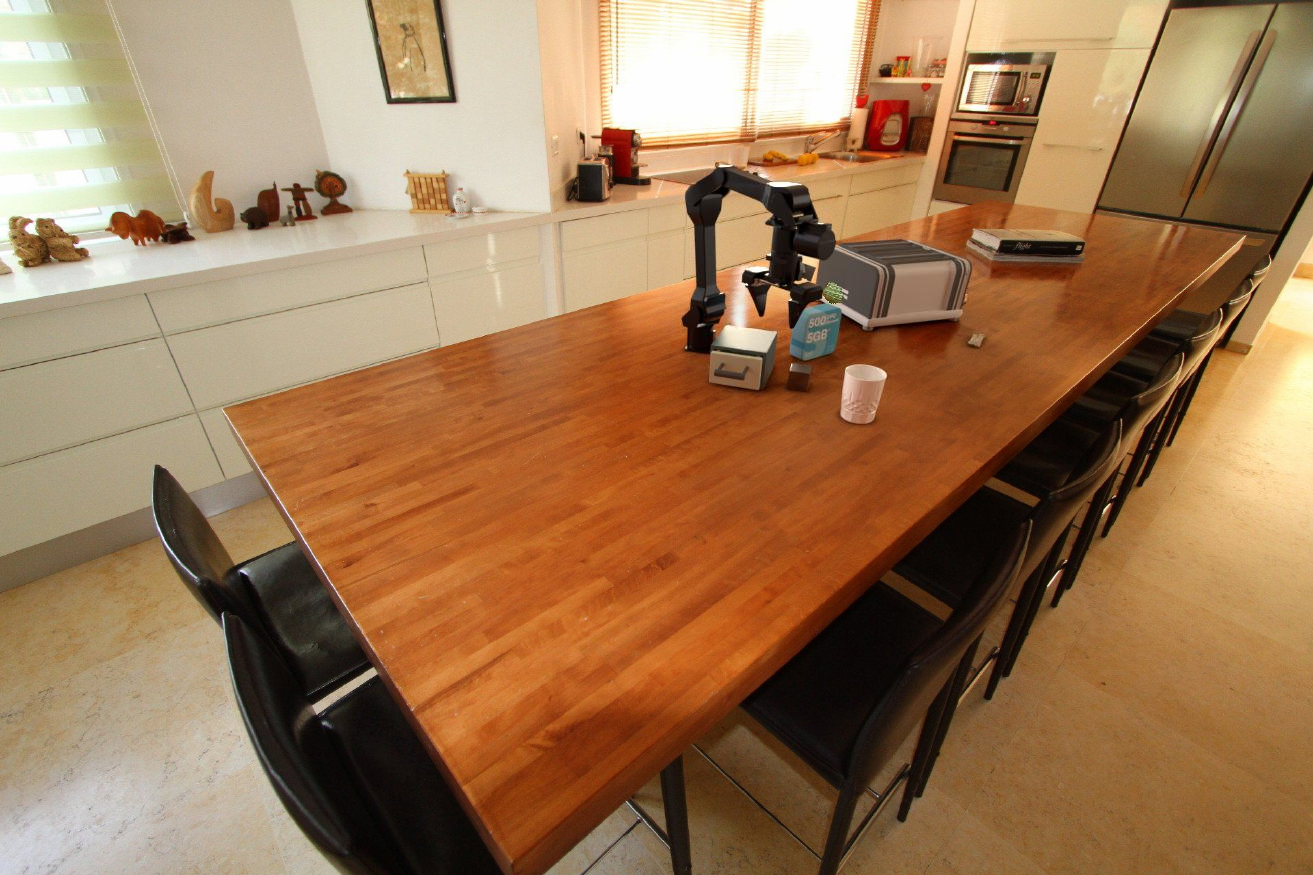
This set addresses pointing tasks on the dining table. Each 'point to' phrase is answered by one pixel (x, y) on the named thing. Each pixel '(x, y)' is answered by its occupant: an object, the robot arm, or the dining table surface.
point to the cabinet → (749, 345)
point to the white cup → (861, 393)
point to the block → (799, 377)
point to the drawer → (735, 369)
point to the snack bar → (976, 339)
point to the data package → (816, 332)
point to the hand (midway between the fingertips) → (776, 322)
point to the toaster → (896, 282)
